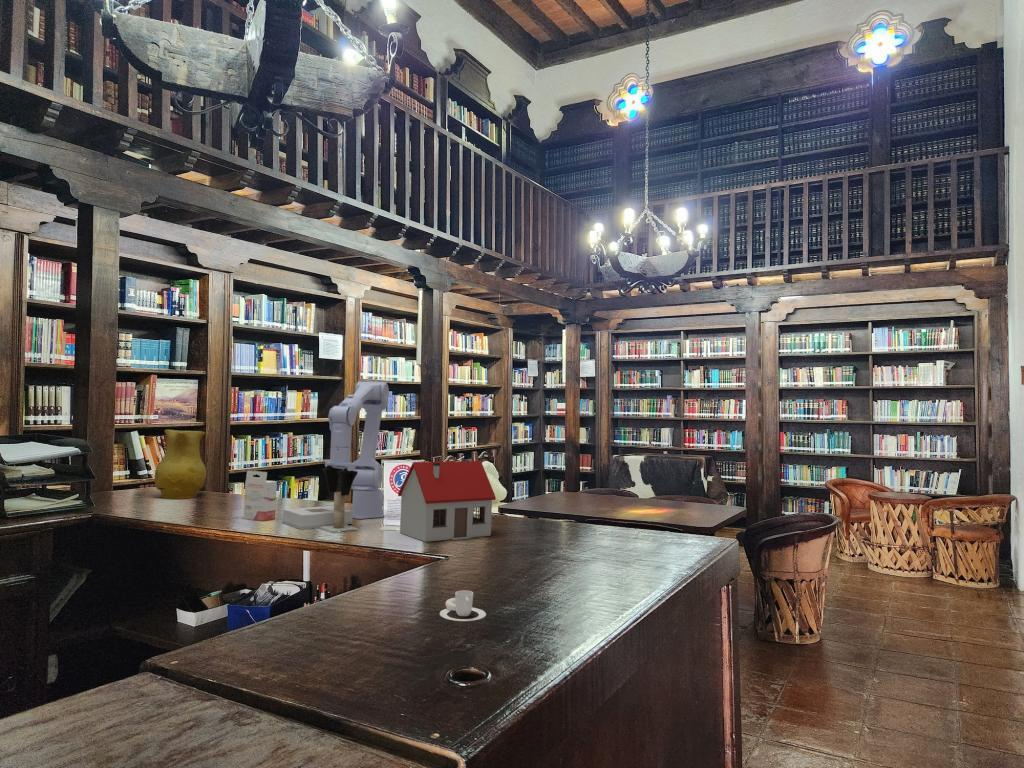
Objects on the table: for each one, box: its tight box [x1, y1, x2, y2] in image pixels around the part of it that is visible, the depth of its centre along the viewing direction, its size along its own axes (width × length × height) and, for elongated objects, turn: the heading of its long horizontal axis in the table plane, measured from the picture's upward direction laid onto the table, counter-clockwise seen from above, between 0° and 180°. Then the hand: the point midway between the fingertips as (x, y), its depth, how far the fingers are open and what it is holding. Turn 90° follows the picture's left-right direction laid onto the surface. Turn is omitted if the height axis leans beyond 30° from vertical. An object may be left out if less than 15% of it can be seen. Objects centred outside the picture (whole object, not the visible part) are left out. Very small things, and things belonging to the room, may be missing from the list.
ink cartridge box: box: [243, 470, 278, 522], centre depth 201 cm, size 9×5×15 cm, turn 68°
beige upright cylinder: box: [333, 491, 346, 528], centre depth 189 cm, size 3×3×10 cm
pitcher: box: [153, 429, 207, 500], centre depth 244 cm, size 17×19×25 cm
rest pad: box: [320, 524, 359, 533], centre depth 188 cm, size 8×8×1 cm
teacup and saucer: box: [439, 589, 487, 622], centre depth 113 cm, size 9×8×4 cm
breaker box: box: [281, 505, 353, 530], centre depth 196 cm, size 16×13×4 cm
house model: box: [397, 460, 497, 543], centre depth 187 cm, size 25×20×21 cm
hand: (338, 493), depth 191 cm, fingers open, 7 cm apart
